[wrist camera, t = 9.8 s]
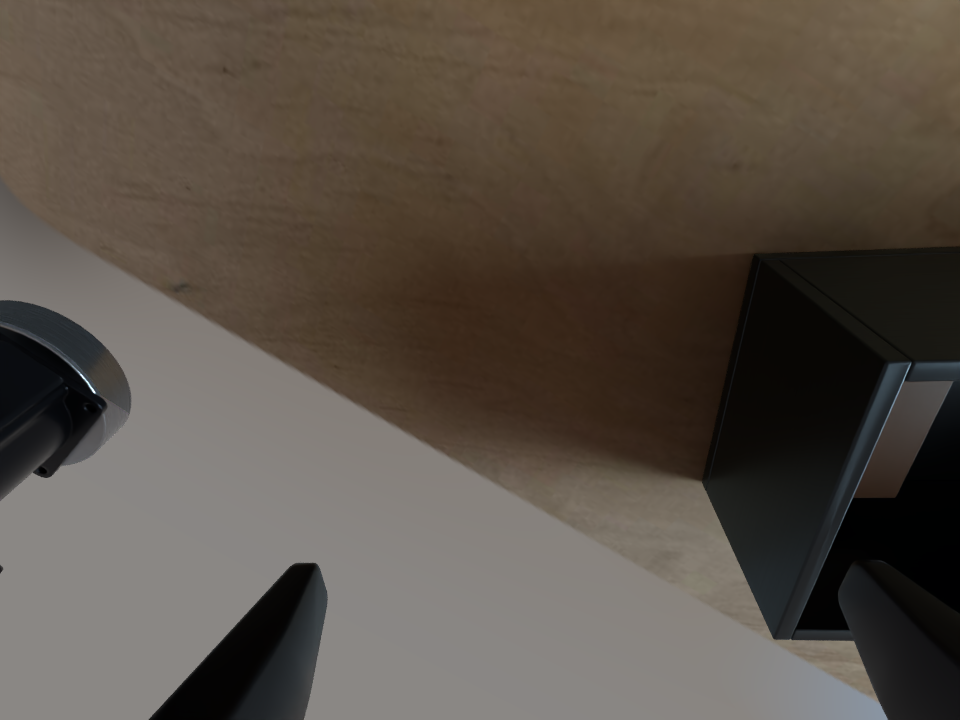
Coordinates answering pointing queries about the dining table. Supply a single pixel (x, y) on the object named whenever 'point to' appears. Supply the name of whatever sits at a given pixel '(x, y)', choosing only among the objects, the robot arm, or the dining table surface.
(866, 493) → the brown block
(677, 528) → the dining table surface
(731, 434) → the trash bin
